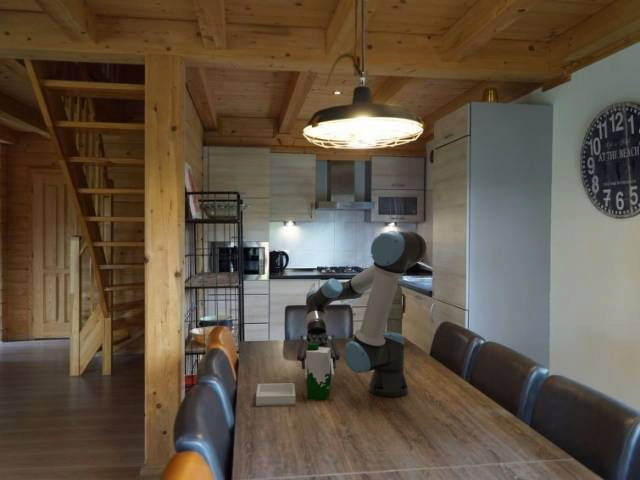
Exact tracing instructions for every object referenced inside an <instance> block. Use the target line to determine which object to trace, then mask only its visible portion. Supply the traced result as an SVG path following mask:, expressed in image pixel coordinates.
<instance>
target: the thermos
mask: <svg viewBox="0 0 640 480" xmlns="http://www.w3.org/2000/svg"><path fill="white" fill-rule="evenodd" d="M406 298H407V296H406V294H405V293H403V289H402V286H401V285H399V284H398V285H397V288H396V292H395V295H394V299H393V302H392V306H391V309H390V313H389V316H388V320H387V323H386V331H387V332H394V333H399V334H401V335H402V336H403V319H404V314H405V313H406V308H407V307H406V305H407V304H406V301H407V300H406Z"/></svg>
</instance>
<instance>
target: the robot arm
mask: <svg viewBox="0 0 640 480" xmlns="http://www.w3.org/2000/svg"><path fill="white" fill-rule="evenodd" d="M427 247H428V245H427V243H426V240H425V239H424V238H423V236H422V235H421V234H419V233H418V232H414V231H396V230H389V231H383V232H381V233H380V234H378V235H377V236H376V237H375V238H374V239H373V241H372V243H371V246H370V254H371V257H372V260H373V264H371V265H369V267H367V268H365V269H364V270H363V271H361V272H359V273H358V274H357V275H354V276H353V277H352V278H350V279H349V280H346V281H340V280H338V279H335V278H329V279H327V280H326V281H325V282H323V284H322V285H321V286H320V287H319V288H318V289H313V290H311V291H309V292H308V293H307V294H306V297H305V308H306V325H307V326H306V328H307V329H306V331H307V334H306V335H305V336H303V335H300V336H299V346H298V350H297V354H296V361H297V362H298V361H299V362H301V370H304V378H305V379H306V378H307V362H306V351H307V349H308V345H307V347H306V348H305V350H304V352H303V347H304V343H305V342H306V341H308V343H318V347H324V348H330V346H329V345H328V343H327V341H328V342H329V343H330V345H331V348H332V350H331V348H330V353H331V378H332V379H333V378H334V375H335V373H334V372H335V370H334V369H336V368H337V367H336V366H337V362H336V361H340V357H341V354H340V352H339V350H338V347H337V343H336V341H335V338H336V337H335V335H334V334H332V335H328V334H327V326H326V311H325V309H326V308H327V307H329V305H330V304H331V303H333V302H339V301H346V300H347V301H348V300H356V299H359V298H361V297H363V295H364V293H365V292H367V291H368V290H370V292H369V295H368V299H367V303H366V307H365V311H364V314H363V318H362V321H361V325H360V328H358V329H356V330H355V332H354V336H353V338H352V341H349V342H347V343H346V344H345V346H344V348H343V356H344V361H345V362H346V365H347V367H348V368H349V369H350V370H351V371H352V372H354V373H357V374H364V373H369V372H371V371H373V372H372V375H371V377H370V380H369V385H368V388H369V389H368V391H369V392H370V393H371V394H373V395H375V396H379V397H386V398H398V397H399V398H400V397H403V396H407V395H408V393H409V385H408V382H407V378H406V376H405V371H404V368H405V366H404V365H405V338H404V336H403V334H402V335H401V334H399V333H394V332H387V330H385V329H386V328H387V320H388V316H389V313H390V309H391V306H392V302H393V299H394V295H395V292H396V288H397V285H399V281H400V277H401V276H403V275H405V274H406V272H407V270H408V269H409V268H411V267H413V266H414V265H416V264H418V263H420V262H421V261H422V260H423V259H424V258H425V256H426V255H427V249H428V248H427ZM302 352H303V354H302Z"/></svg>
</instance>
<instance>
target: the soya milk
mask: <svg viewBox="0 0 640 480" xmlns="http://www.w3.org/2000/svg"><path fill="white" fill-rule="evenodd" d="M307 346H308V349H307V351H306V362H307V378H305V379H306V381H305V382H306V399H307V400H310V401H311V400H312V401H324V402H326V401H327V399H328V397H329V395H330V394H331V393H330V392H331V384H332V379H331V353H330V349H331V347H329V348H324V347H322V346H318V343H309V342H308V343H307Z"/></svg>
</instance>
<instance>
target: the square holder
mask: <svg viewBox="0 0 640 480" xmlns="http://www.w3.org/2000/svg"><path fill="white" fill-rule="evenodd" d="M295 388H296V387H295V382H293V383H291V382H290V383H289V382H287V383H285V382H283V383H257V388H256V392H255V393H256V394H255V407H279V406H280V407H281V406H282V407H284V406H288V407H289V406H296V389H295Z"/></svg>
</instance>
